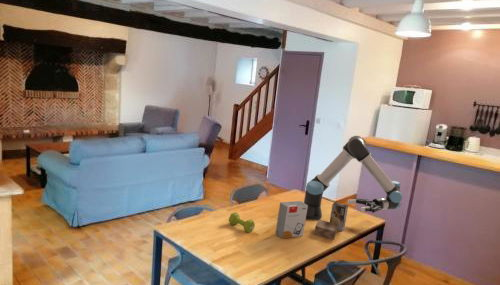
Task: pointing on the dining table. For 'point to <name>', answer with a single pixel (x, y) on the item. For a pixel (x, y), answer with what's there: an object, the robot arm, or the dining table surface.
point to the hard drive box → (291, 219)
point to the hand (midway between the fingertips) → (353, 205)
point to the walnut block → (325, 229)
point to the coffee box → (339, 215)
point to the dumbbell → (241, 222)
